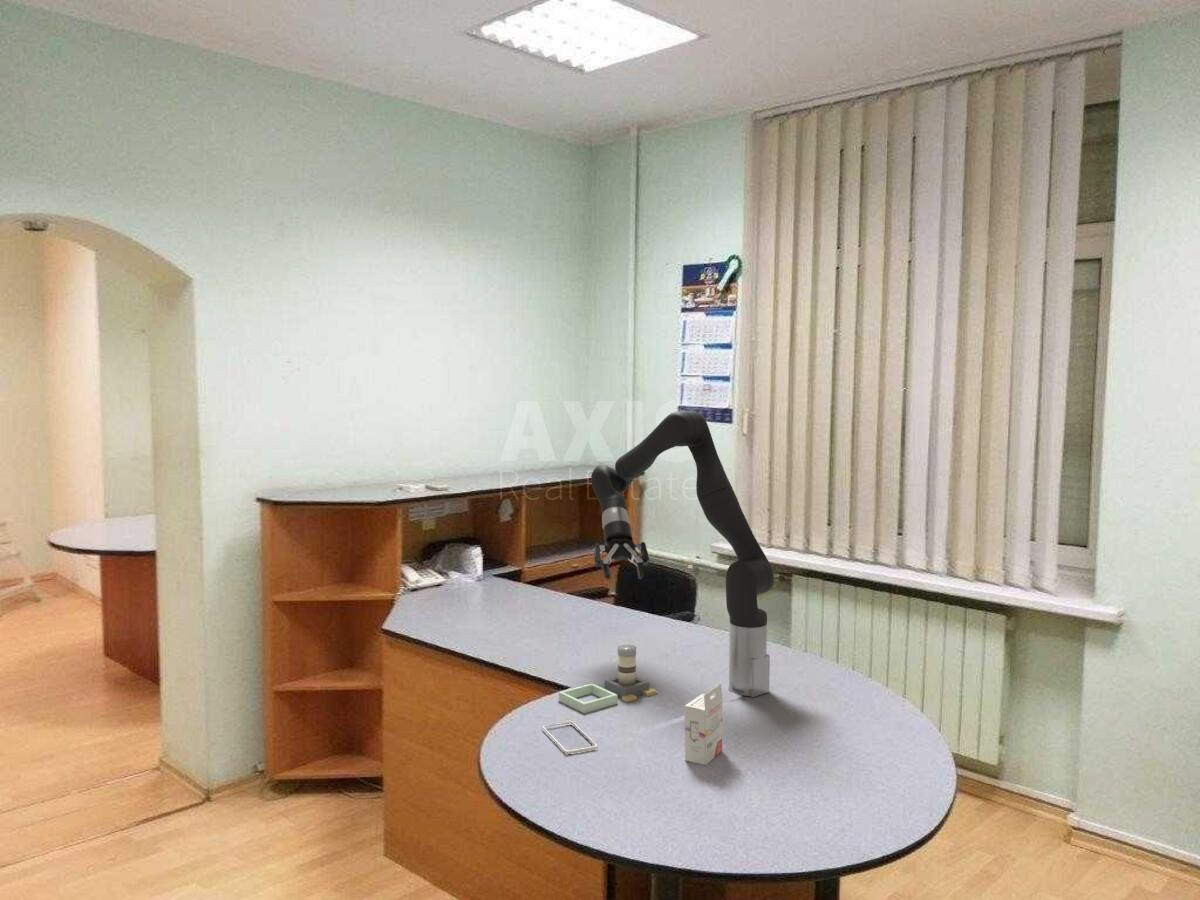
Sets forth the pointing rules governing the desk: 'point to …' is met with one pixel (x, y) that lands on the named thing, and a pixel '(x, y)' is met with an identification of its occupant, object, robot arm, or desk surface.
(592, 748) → the phone case
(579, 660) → the desk surface
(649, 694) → the holder
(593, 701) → the tray
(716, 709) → the ink cartridge box
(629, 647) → the grey beige cylinder
